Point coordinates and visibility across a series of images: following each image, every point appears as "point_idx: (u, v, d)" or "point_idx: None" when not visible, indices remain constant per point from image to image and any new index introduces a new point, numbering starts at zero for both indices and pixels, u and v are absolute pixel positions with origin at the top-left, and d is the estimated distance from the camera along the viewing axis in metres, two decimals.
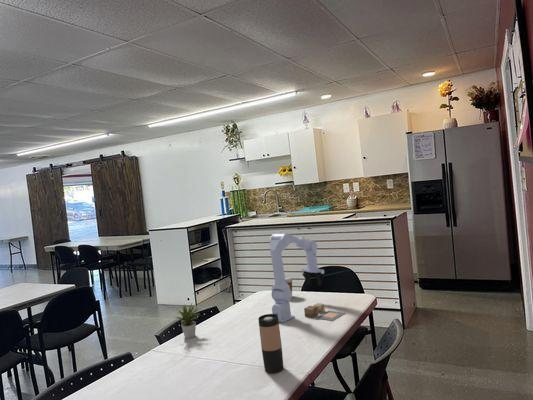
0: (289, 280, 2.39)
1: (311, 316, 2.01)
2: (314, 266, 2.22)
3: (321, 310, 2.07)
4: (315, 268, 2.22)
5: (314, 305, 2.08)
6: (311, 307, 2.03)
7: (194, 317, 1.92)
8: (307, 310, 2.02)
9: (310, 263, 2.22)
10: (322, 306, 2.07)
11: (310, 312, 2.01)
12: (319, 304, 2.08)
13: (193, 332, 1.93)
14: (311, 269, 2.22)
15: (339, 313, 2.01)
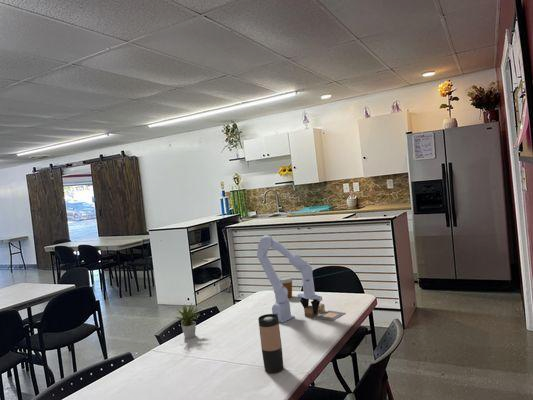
0: (289, 280, 2.39)
1: (311, 316, 2.01)
2: (311, 292, 2.01)
3: (321, 310, 2.07)
4: (312, 295, 2.01)
5: None
6: (311, 307, 2.03)
7: (194, 317, 1.92)
8: (307, 310, 2.02)
9: (307, 289, 2.01)
10: (322, 306, 2.07)
11: (310, 312, 2.01)
12: (319, 304, 2.08)
13: (193, 332, 1.93)
14: (308, 296, 2.01)
15: (339, 313, 2.01)
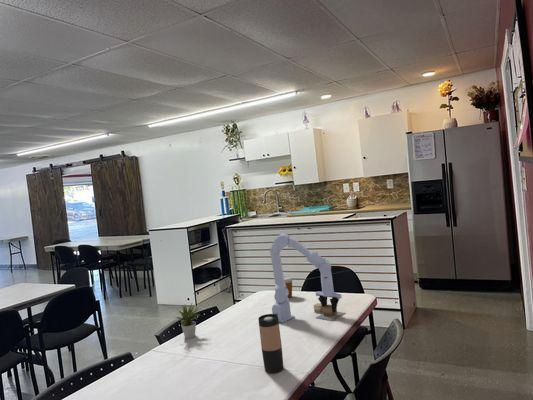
0: (289, 280, 2.39)
1: (330, 315, 1.97)
2: (330, 290, 1.97)
3: (321, 310, 2.07)
4: (331, 292, 1.97)
5: (314, 305, 2.08)
6: (330, 306, 2.00)
7: (194, 317, 1.92)
8: (326, 309, 1.99)
9: (325, 287, 1.97)
10: None
11: (329, 311, 1.97)
12: (319, 304, 2.08)
13: (193, 332, 1.93)
14: (327, 293, 1.97)
15: (339, 313, 2.01)
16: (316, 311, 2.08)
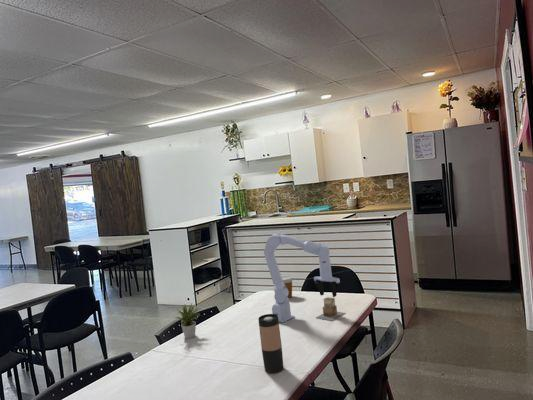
0: (289, 280, 2.39)
1: (330, 315, 1.97)
2: (328, 274, 1.97)
3: (331, 304, 1.98)
4: (329, 276, 1.97)
5: (324, 299, 2.00)
6: None
7: (194, 317, 1.92)
8: (326, 309, 1.99)
9: (324, 271, 1.97)
10: (332, 300, 1.99)
11: (329, 311, 1.97)
12: (329, 298, 2.00)
13: (193, 332, 1.93)
14: (325, 278, 1.97)
15: (339, 313, 2.01)
16: (326, 305, 1.99)
